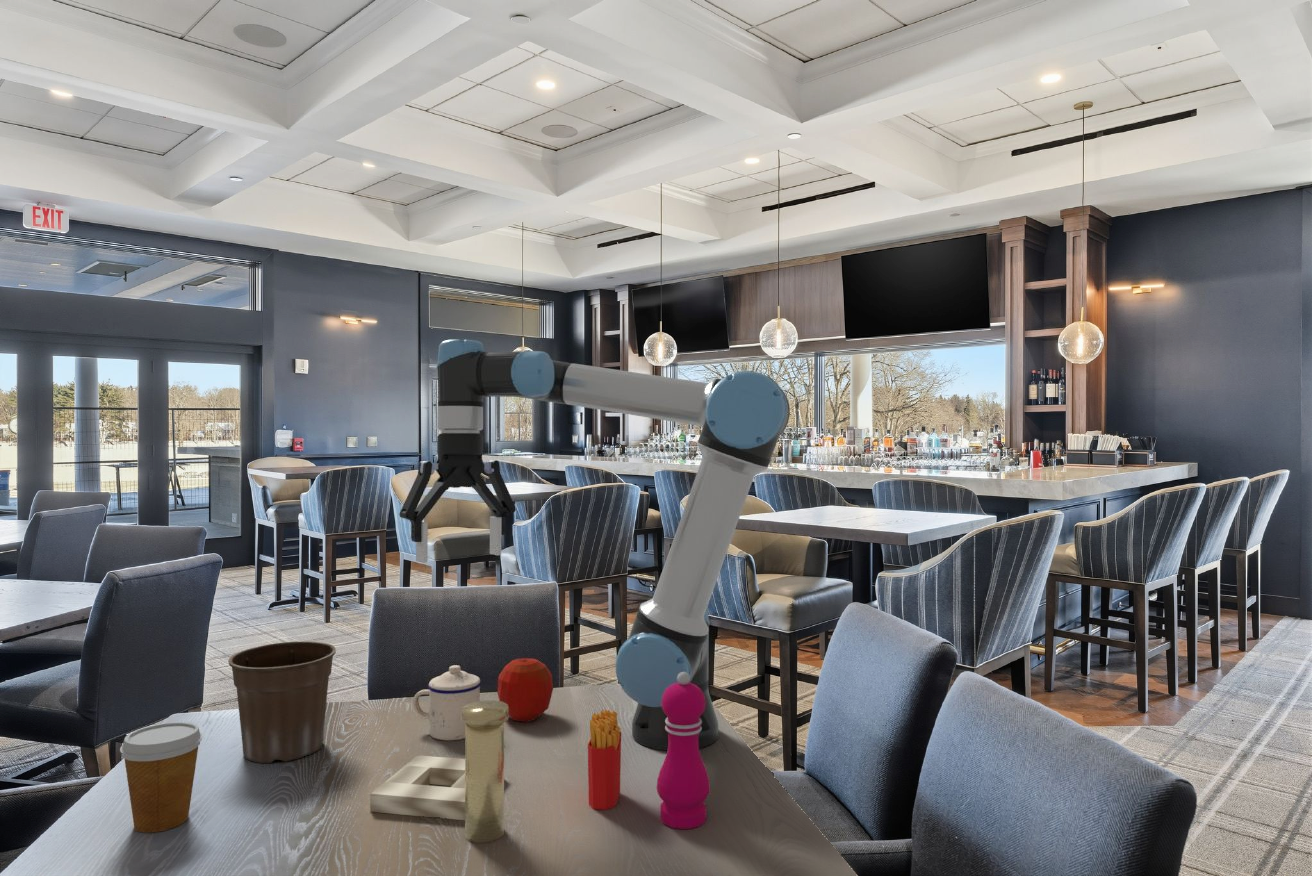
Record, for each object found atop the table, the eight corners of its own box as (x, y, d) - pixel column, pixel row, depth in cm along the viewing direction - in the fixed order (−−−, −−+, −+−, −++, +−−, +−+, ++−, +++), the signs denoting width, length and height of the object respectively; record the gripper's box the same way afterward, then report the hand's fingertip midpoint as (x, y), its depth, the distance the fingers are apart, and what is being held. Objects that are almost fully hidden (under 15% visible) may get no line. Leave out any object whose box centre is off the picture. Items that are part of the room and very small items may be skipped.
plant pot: (283, 776, 125) (283, 671, 125) (204, 761, 130) (204, 661, 130) (356, 739, 140) (356, 646, 140) (283, 728, 146) (283, 638, 146)
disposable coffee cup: (150, 805, 115) (150, 720, 115) (216, 806, 114) (217, 721, 114) (101, 838, 105) (102, 745, 105) (174, 840, 105) (174, 746, 105)
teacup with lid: (487, 724, 148) (487, 660, 148) (471, 742, 139) (471, 674, 139) (423, 722, 149) (423, 658, 149) (403, 740, 140) (403, 672, 140)
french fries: (611, 813, 113) (612, 726, 113) (584, 811, 113) (584, 724, 113) (624, 787, 121) (624, 706, 121) (598, 785, 122) (598, 705, 122)
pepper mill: (693, 836, 106) (693, 682, 106) (646, 822, 110) (647, 674, 110) (719, 815, 112) (719, 669, 112) (674, 802, 116) (674, 662, 116)
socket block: (502, 778, 124) (502, 762, 124) (465, 820, 110) (465, 801, 110) (417, 771, 127) (417, 755, 127) (370, 811, 113) (370, 793, 113)
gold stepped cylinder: (514, 824, 109) (514, 701, 109) (497, 846, 103) (498, 716, 103) (472, 821, 110) (472, 699, 110) (453, 842, 104) (453, 713, 104)
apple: (561, 711, 155) (561, 651, 155) (537, 729, 145) (537, 664, 145) (513, 706, 158) (513, 646, 158) (487, 723, 149) (487, 659, 149)
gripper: (513, 433, 148) (512, 549, 148) (379, 431, 132) (378, 562, 132) (535, 432, 143) (534, 553, 143) (398, 431, 126) (397, 567, 126)
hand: (459, 558), depth 137 cm, fingers open, 13 cm apart
